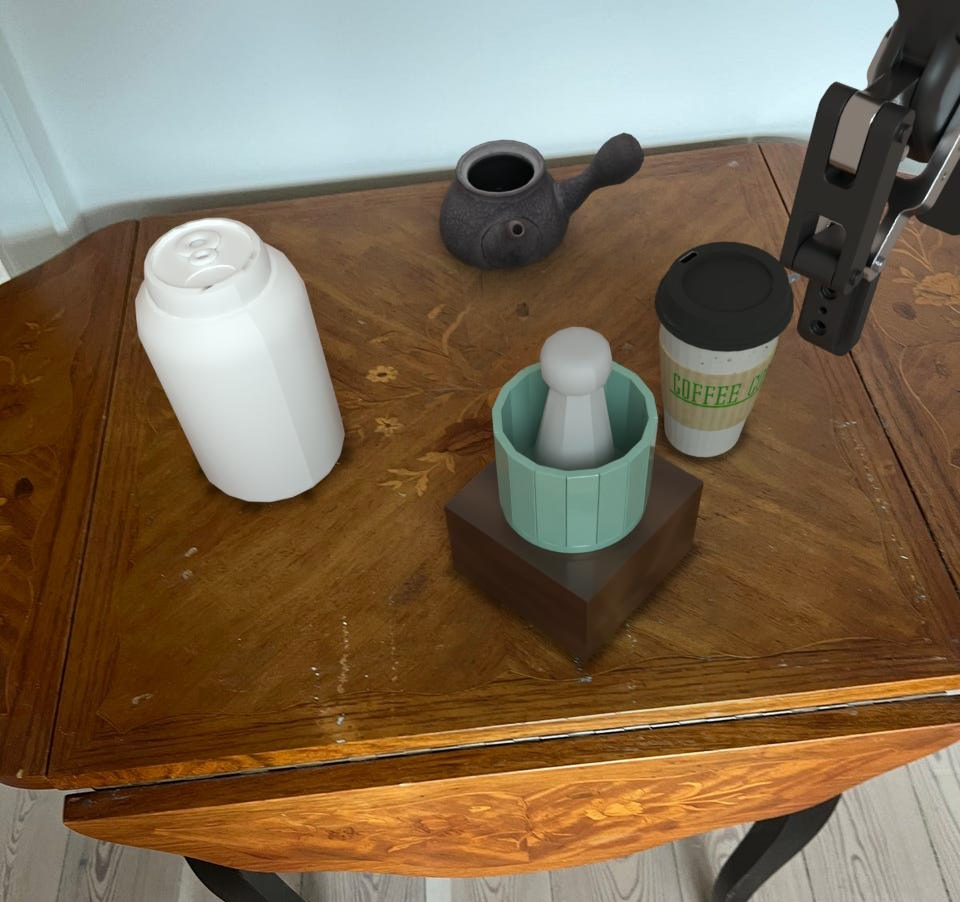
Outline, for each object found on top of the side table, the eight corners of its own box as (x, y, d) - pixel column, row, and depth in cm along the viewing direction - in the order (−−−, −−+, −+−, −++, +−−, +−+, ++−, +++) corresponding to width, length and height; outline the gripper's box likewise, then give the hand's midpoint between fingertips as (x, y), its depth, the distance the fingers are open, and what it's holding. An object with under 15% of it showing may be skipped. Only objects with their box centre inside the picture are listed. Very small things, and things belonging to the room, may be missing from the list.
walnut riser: (561, 468, 82) (560, 398, 75) (691, 548, 77) (704, 481, 70) (454, 569, 78) (443, 505, 71) (585, 662, 73) (587, 602, 66)
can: (187, 423, 88) (94, 225, 70) (322, 377, 89) (264, 174, 72) (221, 527, 81) (129, 338, 64) (366, 475, 83) (314, 278, 66)
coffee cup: (706, 494, 79) (733, 352, 67) (617, 428, 84) (627, 282, 71) (788, 428, 82) (829, 279, 69) (698, 367, 86) (721, 217, 74)
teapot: (453, 311, 92) (442, 217, 84) (434, 207, 100) (421, 111, 92) (654, 280, 93) (663, 183, 84) (619, 178, 101) (624, 80, 92)
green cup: (562, 416, 74) (562, 332, 67) (677, 484, 70) (690, 402, 63) (469, 502, 71) (459, 424, 64) (584, 579, 67) (586, 504, 60)
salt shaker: (526, 515, 69) (518, 376, 58) (537, 452, 72) (532, 307, 60) (611, 523, 68) (620, 383, 57) (619, 458, 71) (630, 313, 59)
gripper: (1076, -89, 21) (874, 434, 35) (1328, -317, 26) (1063, 222, 40) (773, -170, 24) (697, 342, 38) (1051, -362, 29) (893, 155, 43)
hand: (885, 280), depth 39 cm, fingers open, 8 cm apart
